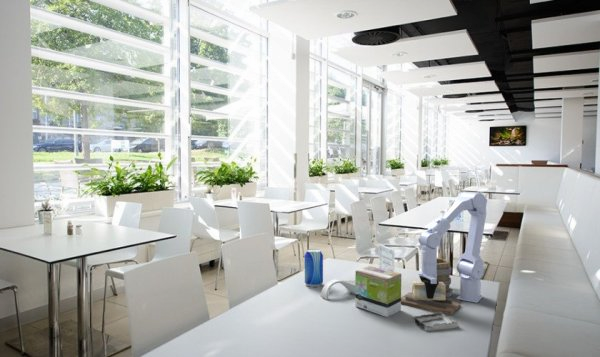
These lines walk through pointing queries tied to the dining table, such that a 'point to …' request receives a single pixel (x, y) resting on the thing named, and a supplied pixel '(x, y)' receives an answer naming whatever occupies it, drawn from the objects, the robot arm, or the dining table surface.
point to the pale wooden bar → (420, 291)
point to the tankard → (444, 273)
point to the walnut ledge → (431, 304)
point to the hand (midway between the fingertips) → (428, 296)
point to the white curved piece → (347, 283)
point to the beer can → (313, 268)
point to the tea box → (378, 290)
